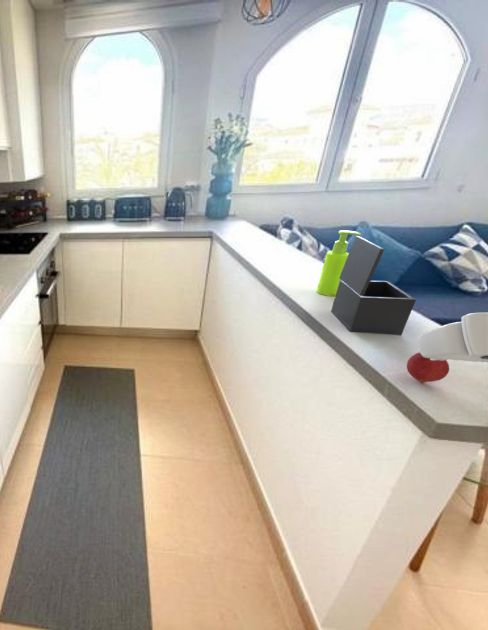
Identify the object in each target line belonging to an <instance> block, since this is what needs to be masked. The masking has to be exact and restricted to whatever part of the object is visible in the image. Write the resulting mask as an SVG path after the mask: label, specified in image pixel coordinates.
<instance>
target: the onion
mask: <svg viewBox="0 0 488 630" xmlns="http://www.w3.org/2000/svg"><path fill="white" fill-rule="evenodd" d="M406 370H407V372H408V373H409V375H410V376H411V377H413V378H414V379H415V380H416V381H418V382H419V383H422V384H424V383H433V382H438V381H441V380H443V379H445V377H446V376H447V375H448V374H449V372H450V365H449V362H448V361H447V360H443V361H433V360H430V358H425V357H423V356H422V355H421V353H420V351H419V352H416V353H414V354H413V355H411V356H410V357H409V358H408V360H407V361H406Z"/></svg>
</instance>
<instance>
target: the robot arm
mask: <svg viewBox="0 0 488 630" xmlns="http://www.w3.org/2000/svg"><path fill="white" fill-rule="evenodd" d="M460 320H461V321H456V322H452V323H451V322H450V323H447V324H443V325H441V326H439V327H436V328H433V329H431V330H429V331H426V332H424V333H422V334H421V335H419V336H418V339H417V343H418V350H419V352H420V353H421V355H422V356H423V357H425V358H430V360H433V361H443V360H446V361H447V360H449V361H462V362H463V361H464V362H475V363H476V362H477V363H488V311H484V312H483V311H482V312H471V313H467V314H465V315H463V316H461V318H460Z"/></svg>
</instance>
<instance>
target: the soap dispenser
mask: <svg viewBox="0 0 488 630" xmlns="http://www.w3.org/2000/svg"><path fill="white" fill-rule="evenodd" d="M337 234H338V235H339V238H338V240H335V241H334V244H333V247H332V250H329V251H327V252H326V253H325V259H324V262H323V265H322V270H321V274H320V277H319V281H318V284H317V288H316V292H317V293H318V294H319V295H323V296H329V297H335V296H336V293H337V289H338V286H339V282H340V280H341V279H340V278H339V277H340V275H341V272H342V270H343V267H344V265H345V262H346V260H347V257H348V255H349V252H347V250H348V246H349V241H347V238H348V235H351V236H355V237H356V236H361V235H362V233H361V232H358V231H354V230H339V231H337Z"/></svg>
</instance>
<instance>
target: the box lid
mask: <svg viewBox="0 0 488 630" xmlns="http://www.w3.org/2000/svg"><path fill="white" fill-rule="evenodd" d="M384 251H385V248H383V247H381V246H379V245H378V244H375V243H374V242H372V241H370V240H368V239H366V238H364V237H362V236H361V235H359V236H356V235H355V238H354V240H353V242H352V245H351V247H350V249H349V252H348V253H349V255H348V257H347V260H346V262H345V265H344V267H343V270H342V272H341V275H340V277H339V278H340V279H341V280H342V281H343V282H344V283H346V284H347V285H348V286H349V287H350V288H352V289H353V290H354V291H355V292H356V293H358V294H359V295H360V296H364V294H365V292H366V289H367V287H368V285H369V283H370V281H372V278H373V276H374V274H375V272H376V270H377V267H378V265H379V262H380V261H381V258H382V256H383V254H384Z"/></svg>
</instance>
